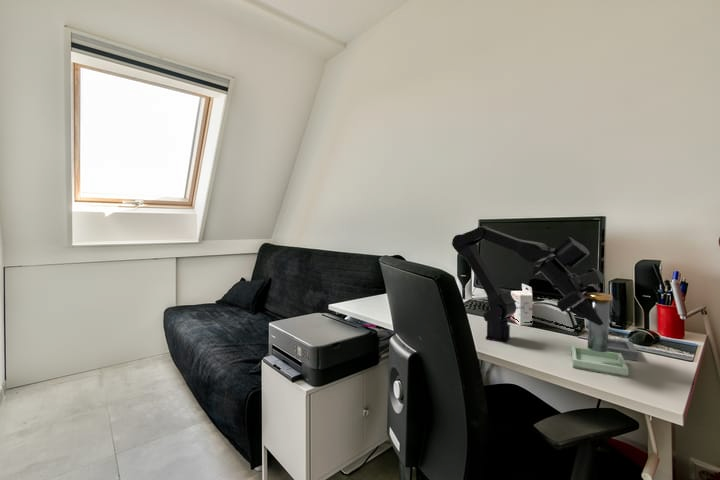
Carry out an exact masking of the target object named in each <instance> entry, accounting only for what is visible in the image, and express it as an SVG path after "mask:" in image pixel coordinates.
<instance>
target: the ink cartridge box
mask: <svg viewBox="0 0 720 480" xmlns="http://www.w3.org/2000/svg"><path fill="white" fill-rule="evenodd" d="M521 289H522V290H511V291H510V293H511V296H512V298H513V299H514V300H515V301H516V302H515V304H516V312H515V313H514V314H513V315H512V316H513V317H514V318H515V319H517V320H518V321H519V322H518V321H517V320H515V319H513V318H512V317H511V318H510V320H511V321H513V322H515V323H516V324H518V325H519V326H533V320H532V304H533V288H532V286H529V285H527V284H525V283H521ZM530 321H532V323H524V322H530Z"/></svg>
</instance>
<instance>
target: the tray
mask: <svg viewBox="0 0 720 480" xmlns="http://www.w3.org/2000/svg"><path fill="white" fill-rule="evenodd" d="M571 357H572V358H571V360H572V361H571V362H572V368H573V369H577V370H582V371H583V370H584V371H588V372H593V373H599V374H605V375H610V376H616V377H620V378H621V377H622V378H626V379H628V378H629V367H628V366H627V363H626V361H625V359H623V356H622V354H621V353H614V352H597V351H593V350H590V349H589V348H588V347H580V346H574V345H572V346H571Z"/></svg>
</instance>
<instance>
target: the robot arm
mask: <svg viewBox="0 0 720 480" xmlns="http://www.w3.org/2000/svg"><path fill="white" fill-rule="evenodd" d="M483 240H485V241H487V242H491V243H493V244H495V245H498V246H500V247H503V248H504V249H507V250H511V251H512V252H513V253H515V254H517V256H519V257H520V258H522V259H523V260H525V261H526V262H529V263H538V262H541V263H540V264H538V265H537V264H536V265H533V271H532V275H534V276H536V275H539V274H542V275H543V276H544V277H545V278H546V279H547V280H548V281H549V283H550V284H551V285H552V286H551V288H552V289H553V290H557V291H558V292H559V293H560V294H561V295H562V296H563V297H562V298H560V299H559V300H558V301H557V302H556V303H557V307H558V308H559V309H560V310H561V311H562V312H564V311H566V310H567V309H568V308H569V309H570V310H569V312H572V313H573V314H574V315H577V316H579V317H582V318H583V319H584V320H585V319H587V320H589V321H591V322H593V323H595V324H597V325H602V324H603V322H602V320H601V319H600V317H599V316H598V315H597V314H596V312H595V311H594V310H593V308H592V307H591V306H590V297H588V298H587V293H590V292H594V293H599V292H600V291H601V290H602V289H601V288H600V287H599V286H598V285H597V284H601V283H602V282H605V278H604V276H603V274H604V273H603V272H601V271H600V270H599V269H598V270H597V269H595V268H594V267H592V268H589V269H587V270H586V271H585V272H586V273H584V274H582V275H577V274H576V273H575V272H570V271H569V269H568V268H567V267H570V268H574V267H575V266H576V265H578V264H579V263H580V262H581V261H583V260H584V259H585V258H586V257H588V256H590V253H591V252H590V251H589V249H588V248H587V247H586V246H585V245H584V244H581V243H580V242H578V241H577V240H575V239H574V238H572V237H569V236H568V237H567V238H566V239H565V240H564V241H563V242H562V243H561V244H560V245H559V246H557V247H554V248H553V247H548V246H547V244H545V243H543V242H540V241H539V242H537V241H532V240H527V239H526V240H525V239H520V238H517V237H514V236H512V235H509V234H506V233H503V232H501V231H498V230H495V229H492V228H491V227H489V226H483V225H481V226H478V227H477V228H474V229H472V230H469V231H467V232H465V233H462V234H460V233H459V234H456V235H454V237H453V238H452V242H451V245H452V248H453V249H454V250H455V251H456V253H458V255H460V256H461V257H462V258H464V259H465V261H467V263H468V265H469V267H470V268H471V271H472V272H473V274H474V275H475V277H476V279H477V280H478V282H479V284H480V286H481V287H482V289H483V291H484V293H485V294H486V297H487V300H486V301H487V306H488V308H489V309H488V310H487V311H486V312H485V313H484V314H482V315H483V318H484V319H483V320H484V321H485V322H486V336H485V339H486V340H491V341H496V342H497V341H498V342H503V343H507V342H508V340H510V337H511V325H510V324H509V320H511V316H512V315H513V314H514V313H515V312H516V304H515V302H516V301H515V300H514V299H513V298H512V296H511V291H509V290H508V291H504V290H503V289H501V287H500V286H499V285H498V282H496V280H495V279H494V276H493V275H492V274H491V272H490V270H489V268H488V267H487V265H486V264H485V262H484V260H483V258H482V257H481V255H480V254H479V245H478V244H479V243H481V242H482V241H483ZM550 257H552V258H551V259H547V258H550ZM570 307H571V308H570Z"/></svg>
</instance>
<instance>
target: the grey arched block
mask: <svg viewBox="0 0 720 480" xmlns="http://www.w3.org/2000/svg"><path fill="white" fill-rule="evenodd" d="M570 309H571V308H570V307H569V308H568V309H567V310H566V311H564V312H562V311H561V310H560V309H559V308H558V307H557V302H552V301H546V300H545V301H543V300H541V301H536V302H533V303H532V316H535V317H539V318H543V319H546V320H549V321H553V322H557V323H560V324H563V325H566V326H569V327H573V325H578V323H577V320H576V318H575V314H574V313H572V312H569V310H570ZM533 321H534V322H537V323H541V324H545V325H546V326H547V325H548V326H550V327H554V328H558V329H561V330H564V331H569V332H575V329H576V330H579V331H580V330H581V328H580V327H578V328H574V329H570V328H566V327H563V326H559V325H555V324H552V323H548V322H545V321H541V320H538V319H534V318H532V322H533Z"/></svg>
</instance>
